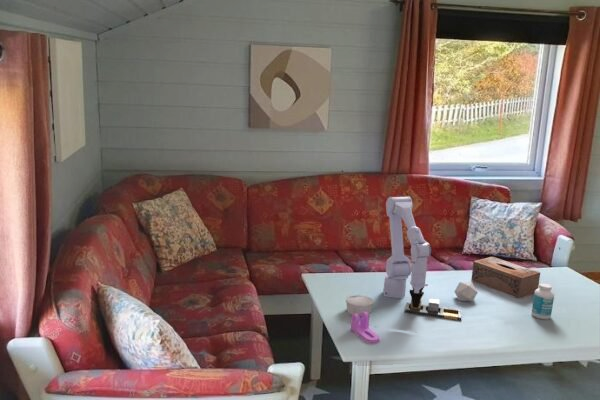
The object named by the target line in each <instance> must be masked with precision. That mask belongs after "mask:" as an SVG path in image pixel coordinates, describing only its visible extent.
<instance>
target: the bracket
mask: <svg viewBox="0 0 600 400" xmlns="http://www.w3.org/2000/svg"><path fill="white" fill-rule="evenodd" d="M350 330H351V332H353V331H354V332H353V333H354V334H356V335H357V336H358V335H359V336H358V337H359V338H361V339H362V340H363V341H365V342H366V343H368V344H377V343H379V342H380V341H381V340H380V337H381V336H380V335H379V334H377V333H376V332H375V331H373V330H372V329H371V328H370V313H369V314H368V313H367V312H362V313H361V316H359V315H358V314H357V313H356V314H352V315H351V317H350ZM367 334H368V335H367Z"/></svg>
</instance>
